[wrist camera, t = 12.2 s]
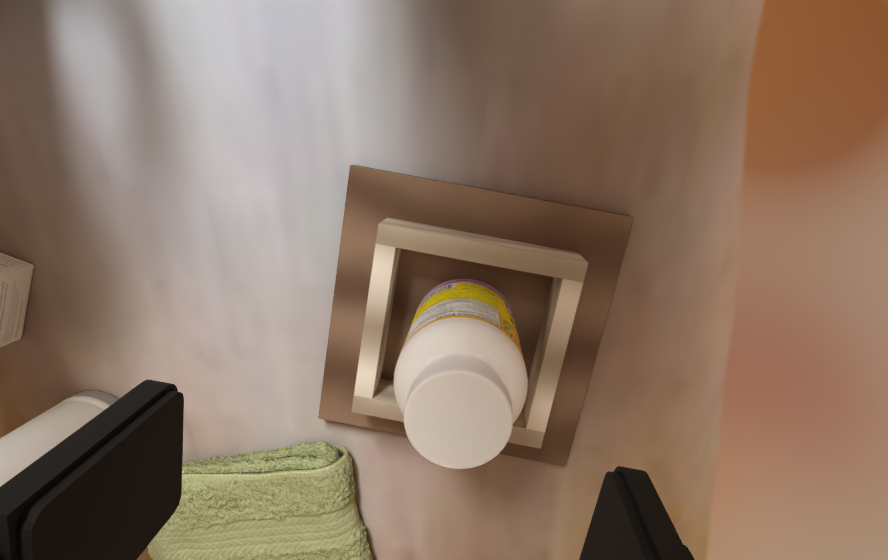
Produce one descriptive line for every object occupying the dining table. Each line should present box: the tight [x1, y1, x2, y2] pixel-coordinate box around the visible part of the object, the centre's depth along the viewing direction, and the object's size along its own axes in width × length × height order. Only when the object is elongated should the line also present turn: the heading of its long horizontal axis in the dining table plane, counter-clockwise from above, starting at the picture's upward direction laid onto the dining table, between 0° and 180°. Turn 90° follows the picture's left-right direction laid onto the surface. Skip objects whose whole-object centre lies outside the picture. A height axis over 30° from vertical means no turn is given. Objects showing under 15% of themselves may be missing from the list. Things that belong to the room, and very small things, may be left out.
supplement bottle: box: [394, 279, 528, 469], centre depth 28 cm, size 7×7×13 cm
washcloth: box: [147, 442, 373, 560], centre depth 39 cm, size 13×18×3 cm
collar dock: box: [319, 165, 634, 466], centre depth 33 cm, size 18×18×4 cm
